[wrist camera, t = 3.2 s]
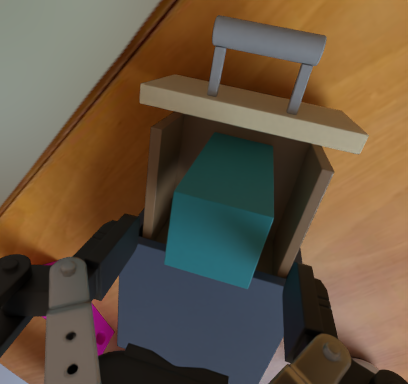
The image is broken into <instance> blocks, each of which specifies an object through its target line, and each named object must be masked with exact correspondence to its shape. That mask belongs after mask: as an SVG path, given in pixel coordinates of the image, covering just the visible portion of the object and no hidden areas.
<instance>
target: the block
mask: <svg viewBox="0 0 408 384" xmlns="http://www.w3.org/2000/svg"><path fill="white" fill-rule="evenodd" d="M273 220H274V176H273V146H271V145H267V144H263V143H259V142H254V141H250V140H246V139H242V138H238V137H234V136H229V135H225V134H221V133H217V132H214V134H213V135H212V136H211V138H210V139H209V141H208V142H207V144H206V145H205V147H204V148H203V150H202V151H201V152H200V154H199V155H198V157H197V158H196V160H195V161H194V163H193V164H192V166H191V167H190V168H189V170H188V171H187V173H186V174H185V176H184V177H183V179H182V180H181V182H180V183H179V184H178V186H177V187H176V189H175V190H174V193H173V200H172V207H171V215H170V222H169V229H168V237H167V244H166V251H165V259H164V265H168V266H171V267H174V268H178V269H181V270H184V271H188V272H191V273H194V274H198V275H201V276H205V277H208V278H211V279H215V280H218V281H221V282H225V283H228V284H231V285H235V286H238V287H241V288H245V289H248V287H249V285H250V282H251V279H252V277H253V274H254V271H255V268H256V266H257V263H258V260H259V258H260V255H261V252H262V249H263V247H264V244H265V241H266V239H267V236H268V233H269V231H270V228H271V225H272V222H273Z"/></svg>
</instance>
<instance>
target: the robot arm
mask: <svg viewBox="0 0 408 384" xmlns="http://www.w3.org/2000/svg"><path fill="white" fill-rule="evenodd" d="M139 228H140V218H139V217H136V216H133V215H129V214H124V215H123V216H122V217H121V218H120V219H119V220H118V221H114V220H112V221H110V222H108V223H106V224H104V225H103V226H102V227H101V228H100V229H99V230H98V231H97V232H96V233H95V234H94V235H93V236H92V238H90V239H89V240H88V241H87V242H86V243H85V244H84V245H83V246H82V247H81V249H80V250H79V251H78V252H77V253H76V254H75V255H74V256H73V257H66V258H63V259H60V260H58V261H57V262H55V263H54V264H53V265H31V262H30V259H29V258H28V257H27V256H25V255H20V254H14V255H8V256H5V257H3V258H0V357H1V356H2V355H3V354H4V353H5V351H6V350H7V349H8V348H9V346H10V345H11V344H12V343H13V341H14V340H15V339H16V338H17V336H18V335H19V334H20V333H21V332H22V330H23V329H24V328H25V327H26V325H27V324H28V323H29V322H30V320H31V319H32V318H33V317H34V316H46V343H45V377H44V384H228V379H229V376H226V375H224V374H221V373H218V372H215V371H212V370H209V369H206V368H198V367H179V366H175V365H173V364H171V363H170V362H168V361H167V360H165V359H164V358H163V357H161V356H160V355H158V354H157V353H155V352H154V351H152V350H149V349H146V348H143V347H140V346H137V345H134V344H131V343H128V345H127V347H126V349H125V351H112V352H108V353H105V354H101V355H99V356H98V352H97V344H96V336H95V327H94V319H93V311H92V303H91V301H92V300H93V299H96V300H99V301H102V299H103V298H104V296H105V295H106V293H107V292H108V290H109V289H110V287H111V286H112V284H113V283H114V281H115V280H116V279H117V277H118V276H119V274H120V273H121V271H122V270H123V268H124V267H125V265H126V264H127V262H128V261H129V259H130V258H131V256H132V255H133V253H134V252H135V250H136V248H137V245H138V241H139ZM282 302H283V326H284V350H285V361H286V362H289V363H291V364H287V365H286V366H285V367H284V368H283V369H282V370H281V371H280V372H279V373H278V374H277V375H276V376H275V377H274V378H273V379H272V380H271V381H270V383H269V384H408V383H407V382H406V381H405V380H404V379H403V378H402V377H401V376H399V375H398V374H396V373H394V372H392V371H389V370H379V371H378V372H377V373H376V374H375V373H373V372H371V371H370V370H368V369H367V368H365V367H363V366H362V365H360V364H358V363H357V362H355V361H354V360H353V359H352V358H351V356H350V353H349V351H348V350H347V348H346V347H345V345H344V344H343V343H342V342H341V341H340V340H338V336H337V332H336V327H335V323H334V319H333V314H332V310H331V305H330V301H329V297H328V292H327V289H326V288H325V286H324V285H323V283H322V282H321V280H318V279H315V278H314V275H313V270H312V267H311V266H308V265H305V264H301V263H298V262H295V263H294V264H293V266H292V269H291V271H290V273H289V275H288V277H287V280H286V282H285V284H284V287H283V293H282Z"/></svg>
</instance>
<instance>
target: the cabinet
mask: <svg viewBox="0 0 408 384" xmlns="http://www.w3.org/2000/svg"><path fill="white" fill-rule="evenodd" d="M144 210H145V208H144V209H143V210H142V212H141V213H140V214H139V215H138V217H139V218H140V228H139V241H138V245H137V248H136V250H135V252H134V253H133V255H132V256H131V258H130V259H129V261H128V262H127V264H126V265H125V267H124V268H123V270H122V271H121V273H120V274H119V297H118V335H117V346H119V347H122V348H125V349H126V347H127V345H128V343H131V344H134V345H137V346H140V347H143V348H146V349H149V350H152V351H154V352H155V353H157V354H158V355H160V356H161V357H163V358H164V359H165V360H167V361H168V362H170V363H171V364H173V365H175V366H179V367H198V368H206V369H209V370H212V371H215V372H218V373H221V374H224V375H226V376H229V379H228V384H259V382H260V380H261V378H262V376H263V374H264V372H265V371H266V369H267V367H268V365H269V363H270V361H271V359H272V357H273V355H274V354H275V352H276V350H277V348H278V346H279V344H280V342H281V340H282V338H283V337H284V326H283V302H282V293H283V287H284V284H285V282H286V280H287V277H288V275H289V273H290V271H291V269H292V266H293V264H294V263H295V262H298V263H301V264H302V257H301V250H300V248H299V250H298V253H297V255H296V257H295V259H294V261H293V264H292V266H291V268H290V270H289V272H288V275H287V277H286V279H284V278H281V277H278V276H274V275H271V274H267V273H264V272H260V271H257V270H255V271H254V274H253V277H252V279H251V282H250V285H249V287H248V289H245V288H241V287H238V286H235V285H231V284H228V283H225V282H221V281H218V280H215V279H211V278H208V277H205V276H201V275H198V274H194V273H191V272H188V271H184V270H181V269H178V268H174V267H171V266H168V265H164V259H165V251H166V244H164V243H160V242H157V241H153V240H150V239H146V238H143V237H142V236H143V223H144Z"/></svg>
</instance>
